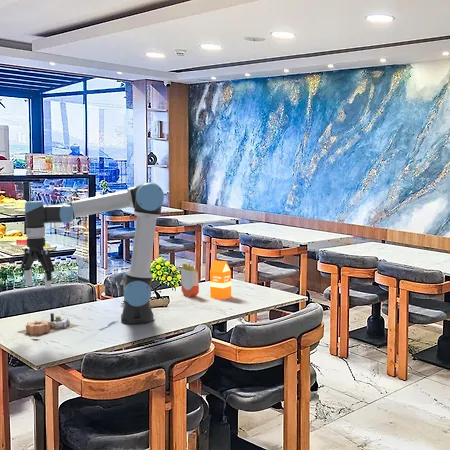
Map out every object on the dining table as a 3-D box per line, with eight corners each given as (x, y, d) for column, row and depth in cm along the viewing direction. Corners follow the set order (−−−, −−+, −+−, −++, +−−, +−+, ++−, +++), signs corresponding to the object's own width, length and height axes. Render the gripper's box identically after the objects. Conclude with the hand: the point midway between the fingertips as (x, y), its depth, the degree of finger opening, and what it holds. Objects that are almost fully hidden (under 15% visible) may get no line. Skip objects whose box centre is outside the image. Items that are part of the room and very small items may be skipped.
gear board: (79, 328, 256) (78, 316, 255) (36, 340, 238) (35, 327, 238) (59, 324, 264) (59, 312, 264) (16, 335, 247) (16, 322, 246)
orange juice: (218, 294, 322) (218, 259, 320) (231, 296, 316) (230, 260, 315) (210, 297, 315) (209, 261, 313) (223, 299, 310) (222, 262, 308)
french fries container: (188, 293, 326) (187, 262, 324) (199, 296, 317) (198, 264, 316) (181, 294, 323) (180, 263, 321) (192, 297, 314) (192, 265, 313)
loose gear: (54, 330, 248) (54, 322, 248) (35, 335, 241) (34, 327, 240) (41, 327, 254) (40, 319, 254) (21, 332, 246) (21, 324, 246)
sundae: (119, 301, 309) (118, 273, 307) (132, 301, 309) (131, 273, 308) (118, 304, 302) (117, 276, 301) (131, 303, 303) (130, 275, 301)
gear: (73, 323, 259) (73, 311, 258) (62, 329, 250) (61, 317, 249) (54, 322, 261) (54, 310, 261) (42, 328, 252) (42, 316, 251)
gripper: (10, 237, 249) (13, 285, 251) (46, 240, 234) (49, 291, 236) (26, 235, 255) (28, 282, 257) (61, 238, 240) (64, 288, 242)
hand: (38, 286), depth 247 cm, fingers open, 13 cm apart
